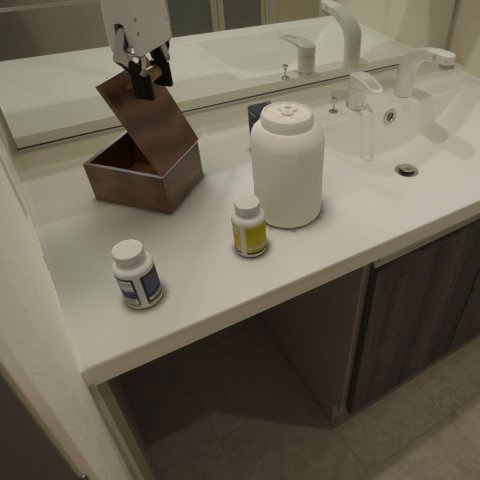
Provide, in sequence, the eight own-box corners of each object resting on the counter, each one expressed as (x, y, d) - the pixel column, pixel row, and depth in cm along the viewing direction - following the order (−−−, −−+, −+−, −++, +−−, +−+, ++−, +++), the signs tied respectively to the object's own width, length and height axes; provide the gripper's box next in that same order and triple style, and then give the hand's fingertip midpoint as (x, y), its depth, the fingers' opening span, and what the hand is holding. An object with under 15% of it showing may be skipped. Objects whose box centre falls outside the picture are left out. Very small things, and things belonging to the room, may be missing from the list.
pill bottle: (159, 278, 65) (144, 231, 59) (166, 302, 62) (151, 256, 55) (123, 288, 63) (103, 241, 57) (128, 314, 60) (107, 267, 53)
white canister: (258, 189, 84) (252, 92, 71) (320, 190, 85) (325, 95, 71) (251, 229, 75) (242, 127, 61) (321, 231, 75) (327, 130, 62)
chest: (96, 199, 79) (82, 164, 74) (136, 163, 89) (126, 129, 84) (171, 214, 77) (162, 179, 72) (203, 175, 87) (197, 141, 82)
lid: (94, 87, 63) (118, 75, 60) (143, 57, 73) (166, 46, 70) (160, 177, 72) (183, 170, 69) (196, 140, 82) (217, 132, 79)
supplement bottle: (272, 241, 73) (269, 195, 66) (258, 261, 69) (255, 215, 62) (244, 233, 74) (239, 188, 67) (229, 253, 70) (222, 207, 64)
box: (250, 149, 95) (246, 105, 88) (272, 143, 98) (270, 100, 91) (265, 165, 91) (263, 120, 84) (288, 159, 93) (288, 114, 86)
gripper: (135, -50, 63) (160, 71, 75) (58, -31, 51) (103, 110, 63) (181, -46, 62) (199, 76, 74) (114, -25, 50) (149, 117, 62)
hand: (155, 90), depth 69 cm, fingers closed on lid, 5 cm apart
